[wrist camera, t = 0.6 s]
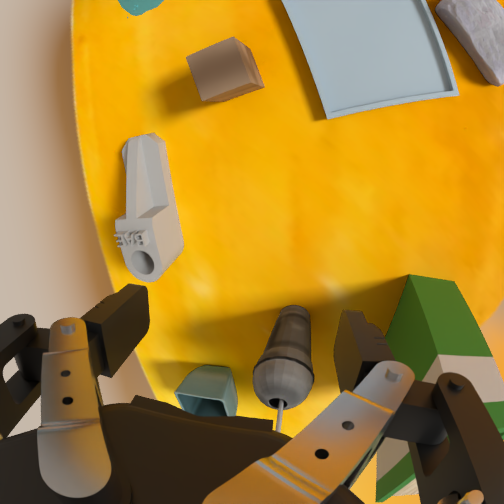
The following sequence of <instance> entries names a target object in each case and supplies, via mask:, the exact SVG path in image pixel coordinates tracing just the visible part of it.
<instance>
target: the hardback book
mask: <svg viewBox="0 0 504 504" xmlns="http://www.w3.org/2000/svg"><path fill="white" fill-rule="evenodd" d="M385 339H386V341H387V343H388V344H387V345H388V346H389V348H390V350H391V352H392V354H393V356H394V358H395V360H396V361H397V362H400V363H403V364H405V365H406V366H408V367H409V368H410V369H411V370H412V371H413V372H414V375H415V380H418V381H423V382H428V383H434V384H436V381H437V379H438V377H439V376H440V375H441V374H443V373H446V372H453V373H458V374H460V375H463V376H464V377H466V378H467V379H468V380H469V381H470V382H471V383H472V385H473V386H474V388H475V390H476V391H477V393H478V395H479V396H480V398H481V400H482V402H483V403H484V405H485V407H486V409H487V411H488V412H489V414H490V416H491V418H492V420H493V422H494V423H495V425H496V427H497V429H498V431H499V433H500V435H501V437H502V439H503V440H504V382H503V380H502V378H501V375H500V372H499V370H498V368H497V365H496V363H495V361H494V358H493V356H492V354H491V351H490V349H489V347H488V345H487V343H486V341H485V338H484V337H483V334H482V332H481V330H480V328H479V326H478V324H477V322H476V320H475V318H474V316H473V314H472V312H471V311H470V309H469V307H468V305H467V303H466V301H465V299H464V298H463V296H462V294H461V292H460V291H459V289H458V287H457V285H456V284H455V282H454V281H448V280H442V279H436V278H430V277H423V276H417V275H411V274H409V276H408V279H407V282H406V285H405V288H404V291H403V293H402V296H401V299H400V301H399V304H398V307H397V309H396V312H395V315H394V317H393V320H392V322H391V325H390V327H389V329H388V332H387V334H386V337H385ZM447 438H448V440H449V437H448V435H447ZM449 443H450V442H449ZM376 479H377V480H376V502H383V501H385V500H387V499H388V498H389V497H391V496H398V495H412V494H419V491H418V486H417V482H416V477H415V472H414V468H413V463H412V459H411V455H410V451H409V447H408V443H407V441H403V440H398V439H393V438H388V437H386V439H385V440H384V442H383V443H382V445H381V446H380V448H379V449H378V451H377V478H376Z"/></svg>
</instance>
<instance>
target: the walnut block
mask: <svg viewBox="0 0 504 504" xmlns="http://www.w3.org/2000/svg"><path fill="white" fill-rule="evenodd" d="M186 59H187V62H188V64H189V67H190V70H191V73H192V75H193V78H194V81H195V83H196V86H197V89H198V91H199V94H200V97H201V100H202V101H221V102H225V101H227V100H230V99H232V98H235V97H238V96H241V95H244V94H246V93H249V92H252V91H255V90H258V89H261V88H264V87H265V86H264V84H263V81H262V78H261V76H260V73H259V70H258V68H257V65H256V63H255V60H254V57H253V55H252V52H251V50H250V49H249V48H248V47H247V46H245V45H244V44H243V43H241V42H240V41H239V40H237V39H236V38H234V37H231V38H229V39H226V40H224V41H221V42H219V43H216V44H214V45H212V46H209V47H207V48H205V49H202V50H200V51H198V52H196V53H194V54H191V55H189V56H187V57H186Z"/></svg>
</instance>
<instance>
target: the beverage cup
mask: <svg viewBox="0 0 504 504" xmlns="http://www.w3.org/2000/svg"><path fill="white" fill-rule="evenodd" d="M313 383H314V373H313V367H312V362H311V322H310V315H309V313H308V311H307V310H306V309H305V308H303V307H301V306H297V305H290V306H287V307H285V308H283V309H282V311H281V312H280V315H279V317H278V318H277V320H276V323H275V326H274V328H273V331H272V333H271V336H270V338H269V341H268V343H267V346H266V348H265V350H264V353H263V355H262V356H261V357H260V359H259V361H258V362H257V364H256V365H255V367H254V370H253V386H254V391H255V393H256V395H257V397H258V398H259V399H260V401H261V402H262V403H264V404H265V405H266V406H268V407H270V408H273V409H277V410H278V415H277V423H276V431H277V432H280V430H281V422H282V414H283V410H287V409H290V408H293V407H296V406H297V405H299V404H300V403H302V402H303V401H304V400H305V399H306V397H307V396H308V394H309V392H310V390H311V388H312V385H313Z"/></svg>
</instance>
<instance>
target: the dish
mask: <svg viewBox="0 0 504 504" xmlns="http://www.w3.org/2000/svg"><path fill="white" fill-rule="evenodd" d="M282 2H283V4H284V6H285V9H286V11H287V13H288V15H289V18H290V20H291V22H292V25H293V27H294V29H295V32H296V34H297V37H298V39H299V42H300V44H301V47H302V49H303V52H304V54H305V57H306V59H307V62H308V65H309V67H310V70H311V73H312V75H313V78H314V81H315V84H316V87H317V90H318V92H319V95H320V98H321V101H322V104H323V107H324V110H325V113H326V117H327V119H331V118H335V117H339V116H344V115H348V114H352V113H357V112H361V111H366V110H371V109H376V108H381V107H386V106H391V105H397V104H402V103H408V102H414V101H420V100H427V99H434V98H441V97H449V96H458V95H459V92H458V88H457V85H456V81H455V78H454V74H453V71H452V68H451V64H450V61H449V58H448V55H447V52H446V49H445V46H444V44H443V41H442V38H441V36H440V33H439V30H438V28H437V25H436V23H435V20H434V18H433V16H432V13H431V11H430V9H429V7H428V4H427V2H426V0H282Z"/></svg>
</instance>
